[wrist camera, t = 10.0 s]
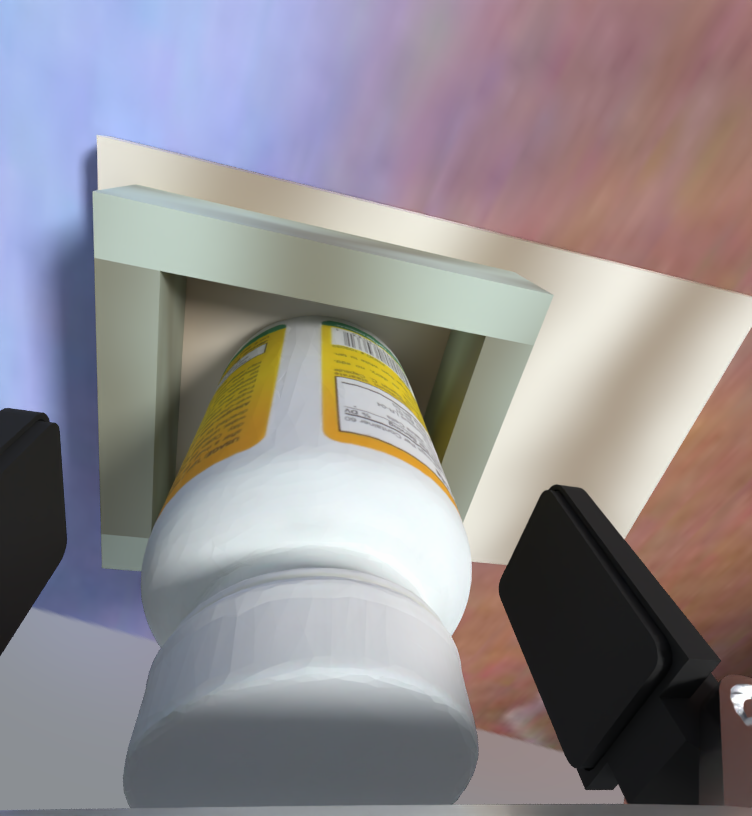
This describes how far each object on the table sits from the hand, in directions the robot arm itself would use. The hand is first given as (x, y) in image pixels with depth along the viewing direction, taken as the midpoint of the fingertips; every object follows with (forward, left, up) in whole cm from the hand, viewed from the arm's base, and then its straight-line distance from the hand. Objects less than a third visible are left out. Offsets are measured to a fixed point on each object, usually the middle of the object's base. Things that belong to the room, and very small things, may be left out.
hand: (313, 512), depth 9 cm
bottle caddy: (-3, 0, -6) cm, 7 cm away
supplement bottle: (0, 0, -5) cm, 5 cm away
